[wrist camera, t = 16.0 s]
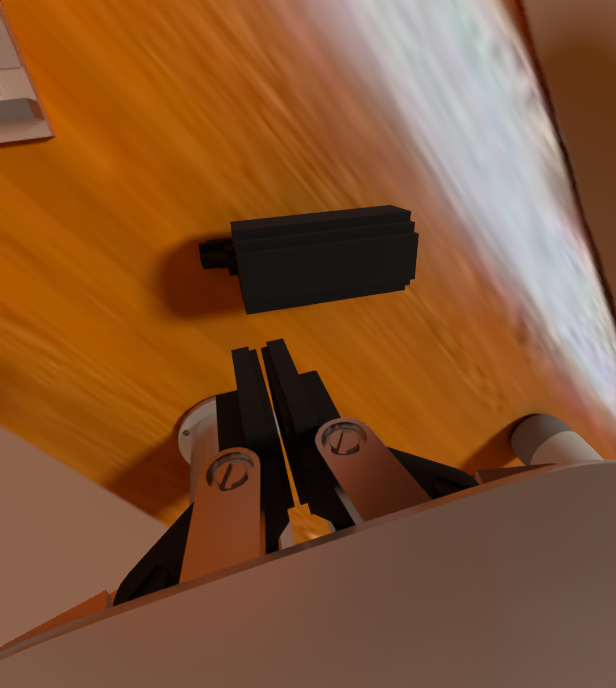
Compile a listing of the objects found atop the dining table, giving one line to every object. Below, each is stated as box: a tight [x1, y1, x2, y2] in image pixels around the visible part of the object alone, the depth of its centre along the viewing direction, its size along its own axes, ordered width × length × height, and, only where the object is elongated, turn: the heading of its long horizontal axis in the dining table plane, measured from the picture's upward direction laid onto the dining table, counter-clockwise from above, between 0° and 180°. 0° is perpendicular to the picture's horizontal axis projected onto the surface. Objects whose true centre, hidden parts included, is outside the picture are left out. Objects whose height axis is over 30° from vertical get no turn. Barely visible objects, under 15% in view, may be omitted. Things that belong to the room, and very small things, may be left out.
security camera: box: [199, 205, 419, 314], centre depth 33 cm, size 7×18×10 cm, turn 93°
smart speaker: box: [511, 414, 604, 466], centre depth 57 cm, size 10×9×14 cm
